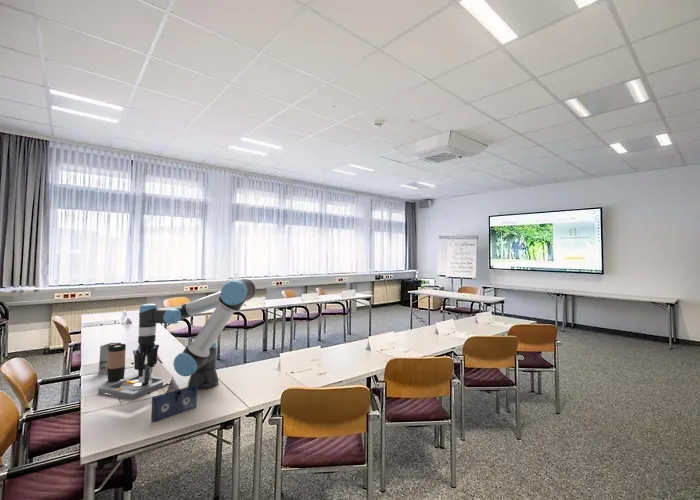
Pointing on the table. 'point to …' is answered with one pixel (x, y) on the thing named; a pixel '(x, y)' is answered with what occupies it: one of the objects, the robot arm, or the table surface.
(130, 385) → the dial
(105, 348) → the coffee box
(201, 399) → the table surface
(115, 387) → the gray square tray
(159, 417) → the vhs cassette tape
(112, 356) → the travel mug
